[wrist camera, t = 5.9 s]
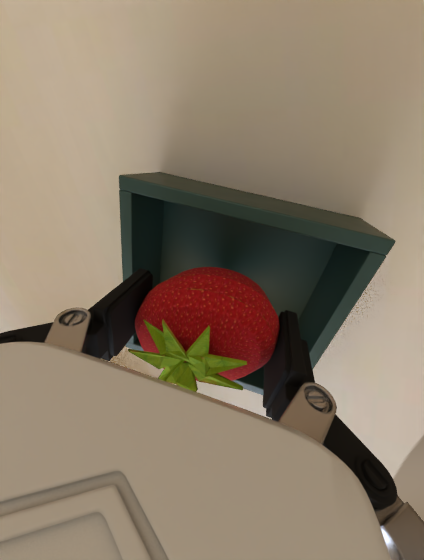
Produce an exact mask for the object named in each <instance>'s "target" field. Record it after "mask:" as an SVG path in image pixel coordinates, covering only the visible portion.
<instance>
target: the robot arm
mask: <svg viewBox="0 0 424 560" xmlns="http://www.w3.org/2000/svg"><path fill="white" fill-rule="evenodd" d="M152 285H153V275H152V274H151V272H150V271H149V270H145V269H142V268H140V269H138V270H137V271H136V272H135V273H133V274H132V275H131V276H130V277H128V278H127V279H126V280H125V281H123V282H122V283H121V284H120V285H119V286H117V287H116V288H115V289H113V290H112V291H111V292H110V293H108V294H107V295H106V296H105V297H104V298H102V299H101V300H100V301H99V302H97V303H96V304H95V305H94V306H92V307H91V308H90V309H89V310H87V309H84V308H71V309H67V310H65V311H63V312H61V313H60V314H58V315H57V317H56V318H55V320H54V322H52V323H47V324H42V325H37V326H32V327H27V328H22V329H17V330H12V331H7V332H4V333H0V560H424V522H423V520H422V519H421V518H420V517H419V516H418V514H417V513H416V512H415V511H414V509H413V508H412V507H411V506H410V505H409V503H408V502H405V503H403V501H402V500H401V499H400V498H399V497H398V495H397V490H396V486H395V483H394V481H393V479H392V477H391V475H390V473H389V472H388V470H387V469H386V468H385V467H384V465H383V464H382V463H381V462H380V461H379V460H378V459H377V458H376V457H375V456H374V455H373V454H372V453H371V451H370V450H369V449H368V448H367V447H366V446H365V445H364V444H363V443H362V442H361V441H360V440H359V439H358V438H357V437H356V436H355V435H354V434H353V432H352V431H351V430H350V429H349V428H348V427H347V426H346V425H345V424H344V423H343V422H342V421H341V420H340V419H339V418H338V417H337V416H336V414H335V413H336V409H337V407H336V402H335V400H334V398H333V396H332V395H331V394H330V393H329V391H327V390H326V389H325V388H324V387H322V386H321V385H319V384H317V383H315V381H314V375H313V370H312V365H311V360H310V355H309V349H308V344H307V341H306V340H302V339H301V336H300V330H299V323H298V317H297V313H295V312H292V311H288V310H285V312H281V313H280V315H279V317H278V319H279V324H280V330H279V335H278V340H277V343H276V347H275V350H274V352H273V354H272V356H271V358H270V360H269V361H268V362H267V363H266V364H265V365H264V389H263V407H264V408H266V416H268V417H271V418H272V419H269V418H266V417H264V416H261V415H258V414H256V413H253V412H250V411H248V410H245V409H242V408H239V407H237V406H234V405H231V404H228V403H225V402H223V401H220V400H217V399H214V398H211V397H209V396H206V395H203V394H200V393H197V392H194V391H192V390H189V389H186V388H183V387H180V386H177V385H174V384H172V383H169V382H166V381H163V380H160V379H157V378H154V377H152V376H149V375H146V374H143V373H140V372H137V371H134V370H131V369H128V368H125V367H123V366H120V365H117V364H114V363H111V362H108V361H110V360H111V358H112V357H113V356H117V355H118V354H119V352H120V351H121V350H122V349H123V347H124V346H125V345H126V344H127V342H128V341H129V340H130V339H131V337H132V336H133V335H134V334H135V332H136V330H135V318H136V315H137V312H138V310H139V308H140V306H141V304H142V302H143V300H144V298H145V297H146V296H147V294H148V293H149V291H150V290H152ZM101 358H102V359H105V360H107V361H105V360H102V359H101Z"/></svg>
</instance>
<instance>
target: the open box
mask: <svg viewBox="0 0 424 560" xmlns="http://www.w3.org/2000/svg"><path fill="white" fill-rule="evenodd" d="M119 188H120V189H121V190H119V196H120V220H121V244H122V268H123V281H125V280H126V279H127V278H128V277H130V276H131V275H132V274H133V273H135V272H136V271H137V270H138V269H140V268H142V269H145V270H149V271H150V272H151V274H152V275H153V285H152V289H153V288H154V287H155V286H157V285H158V284H160V283H162V282H164V281H166V280H168V279H169V278H171V277H173V276H175V275H177V274H179V273H181V272H183V271H186V270H190V269H193V268H200V267H218V268H224V269H229V270H232V271H235V272H238V273H241V274H243V275H245V276H246V277H248V278H250V279H251V280H253V281H254V282H255V283H257V284H258V285H259V286H260V287H261V289H262V290H263V291H264V292H265V294H266V296H267V297H268V299H269V301H270V303H271V305H272V306H273V308H274V310H275V312H276V314H277V316H278V317H279V315H280V313H281V312H285V310H288V311H292V312H295V313H297V317H298V323H299V330H300V336H301V339H302V340H306V341H307V344H308V349H309V355H310V360H311V365H312V370H313V368H314V366H315V365H316V363H317V362H318V360H319V359H320V357H321V356H322V354H323V353H324V351H325V350H326V348H327V347H328V345H329V344H330V342H331V340H332V339H333V337H334V336H335V334H336V333H337V331H338V330H339V328H340V327H341V325H342V324H343V322H344V321H345V319H346V317H347V316H348V314H349V313H350V311H351V310H352V308H353V307H354V305H355V304H356V302H357V301H358V299H359V298H360V296H361V295H362V293H363V291H364V290H365V288H366V287H367V285H368V284H369V282H370V281H371V279H372V278H373V276H374V275H375V273H376V272H377V270H378V268H379V267H380V265H381V264H382V262H383V261H384V259H385V258H386V256H385V255H387V254H388V253H389V251H390V250H391V248H392V247H393V245H394V244H395V240H394V239H392V238H390V237H389V236H387V235H386V234H384V233H383V232H381V231H379V230H378V229H376V228H375V227H373V226H372V225H370V224H368V223H367V222H365V221H364V220H363V219H361V218H358V217H353V216H349V215H345V214H340V213H336V212H331V211H327V210H323V209H318V208H314V207H310V206H305V205H301V204H297V203H292V202H288V201H283V200H279V199H275V198H270V197H266V196H262V195H257V194H253V193H248V192H244V191H240V190H235V189H231V188H227V187H222V186H218V185H214V184H209V183H205V182H200V181H196V180H192V179H187V178H183V177H179V176H174V175H170V174H166V173H161V172H157V173H143V174H128V175H120V176H119ZM126 347H128V348H130V349H133V350H139V351H144V350H143V348H142V346H141V345H140V342H139V339H138V337H137V334H136V332H135V334H134V335H133V336H132V337H131V339H130V340H129V341H128V342H127V344H126ZM232 381H233V382H235V383H237V384H239V385H241V386H243V388H244V389H247V390H249V391H252V392H255V393H258V394H261V395H263V389H264V366H262V367H261V368H259V369H257V370H256V371H254V372H252V373H250V374H248V375H246V376H244V377H242V378H239V379H236V380H232Z"/></svg>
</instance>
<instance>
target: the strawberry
mask: <svg viewBox="0 0 424 560" xmlns="http://www.w3.org/2000/svg"><path fill="white" fill-rule="evenodd" d="M135 330H136V334H137V337H138V339H139V342H140V345H141V346H142V348H143V350H144V351H139V350H132V349H129V350H128V351H129V352H131V353H132V354H134V355H136V356H137V357H139V358H141V359H143V360H144V361H146V362H148V363H149V364H151V365H153V366H155V367H156V368H158V369H161V368H164V370H163V372H162V373H161V375H160V376H159V378H158V379H160V380H163V381H166V382H169V383H174V384H177V386H180V387H183V388H186V389H189V390H192V391H194V392H196V391H197V390H198V388H197V384H196V380H197V381H199V382H204V383H209V384H214V385H219V386H224V387H229V388H234V389H239V390H243V386H241V385H239V384H237V383H235V382H233V381H232V380H236V379H239V378H242V377H244V376H246V375H248V374H250V373H252V372H254V371H256V370H257V369H259V368H261V367H262V366H264V365H265V364H266V363H267V362H268V361H269V360H270V358H271V356H272V354H273V352H274V350H275V347H276V343H277V340H278V335H279V330H280V324H279V319H278V316H277V314H276V312H275V310H274V308H273V306H272V305H271V303H270V301H269V299H268V297H267V296H266V294H265V292H264V291H263V290H262V289H261V287H260V286H259V285H258V284H257V283H255V282H254V281H253V280H251V279H250V278H248V277H246V276H245V275H243V274H241V273H238V272H235V271H232V270H229V269H224V268H218V267H200V268H193V269H190V270H186V271H183V272H181V273H179V274H177V275H175V276H173V277H171V278H169V279H168V280H166V281H164V282H162V283H160V284H158V285H157V286H155V287H154V288H153V289H152V290H150V291H149V293H148V294H147V296H146V297H145V298H144V300H143V302H142V304H141V306H140V308H139V310H138V312H137V315H136V318H135Z"/></svg>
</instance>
